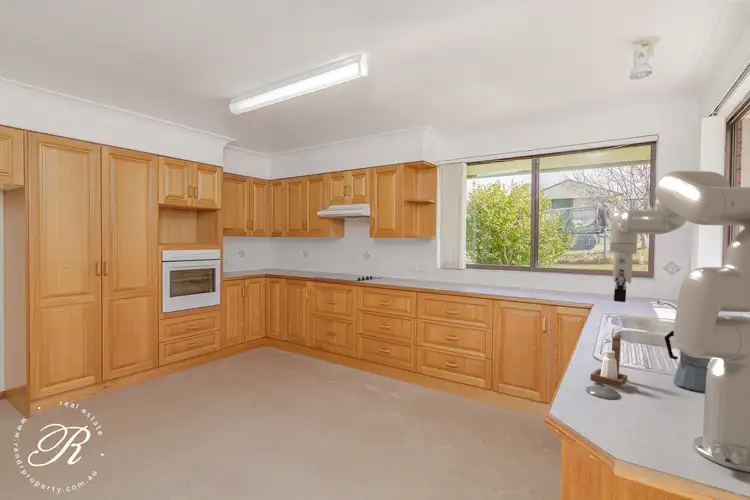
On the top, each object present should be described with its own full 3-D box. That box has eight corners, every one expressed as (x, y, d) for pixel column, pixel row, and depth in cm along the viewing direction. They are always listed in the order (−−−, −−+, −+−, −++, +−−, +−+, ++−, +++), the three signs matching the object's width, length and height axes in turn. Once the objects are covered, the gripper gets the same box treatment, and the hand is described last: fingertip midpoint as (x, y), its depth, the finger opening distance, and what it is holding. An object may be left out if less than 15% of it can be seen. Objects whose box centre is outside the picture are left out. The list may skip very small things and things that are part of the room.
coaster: (615, 402, 113) (615, 400, 113) (581, 392, 119) (582, 390, 119) (623, 393, 119) (623, 392, 119) (591, 385, 126) (591, 383, 126)
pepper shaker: (620, 384, 127) (621, 351, 127) (615, 388, 124) (617, 354, 123) (601, 379, 131) (603, 347, 131) (597, 383, 127) (598, 350, 127)
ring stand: (620, 391, 121) (622, 341, 121) (590, 383, 127) (592, 335, 127) (630, 380, 131) (633, 334, 130) (602, 373, 137) (604, 329, 136)
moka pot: (726, 395, 120) (730, 332, 119) (671, 390, 123) (674, 328, 122) (707, 384, 129) (710, 325, 129) (655, 379, 133) (659, 322, 132)
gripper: (637, 250, 118) (633, 304, 119) (636, 248, 133) (632, 297, 134) (608, 249, 123) (605, 301, 124) (610, 247, 137) (607, 294, 138)
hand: (619, 299), depth 129 cm, fingers open, 9 cm apart
